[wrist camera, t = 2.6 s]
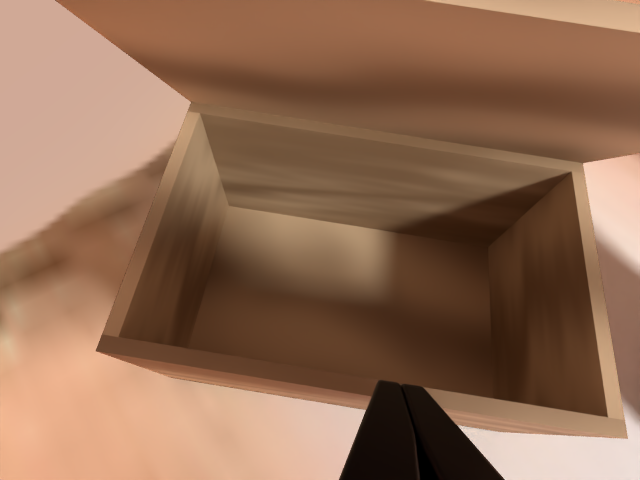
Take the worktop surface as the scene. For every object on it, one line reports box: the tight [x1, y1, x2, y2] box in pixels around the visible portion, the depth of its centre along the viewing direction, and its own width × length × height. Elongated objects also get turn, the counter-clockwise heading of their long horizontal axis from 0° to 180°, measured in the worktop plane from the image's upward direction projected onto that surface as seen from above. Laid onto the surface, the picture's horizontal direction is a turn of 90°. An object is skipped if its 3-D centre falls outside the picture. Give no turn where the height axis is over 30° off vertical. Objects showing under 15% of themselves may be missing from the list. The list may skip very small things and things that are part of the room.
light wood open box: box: [96, 102, 628, 439], centre depth 17 cm, size 10×16×8 cm, turn 81°
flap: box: [55, 0, 640, 163], centre depth 11 cm, size 10×16×1 cm
